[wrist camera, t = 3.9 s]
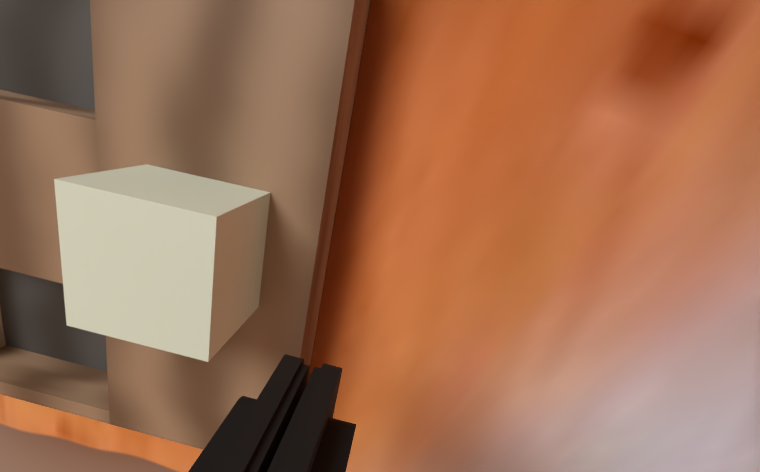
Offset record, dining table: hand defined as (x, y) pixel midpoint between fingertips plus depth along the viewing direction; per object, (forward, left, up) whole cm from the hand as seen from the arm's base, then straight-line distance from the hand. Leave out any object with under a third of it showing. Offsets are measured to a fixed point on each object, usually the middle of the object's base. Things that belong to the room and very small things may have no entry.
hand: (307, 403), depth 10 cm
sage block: (+8, -1, -8) cm, 11 cm away
